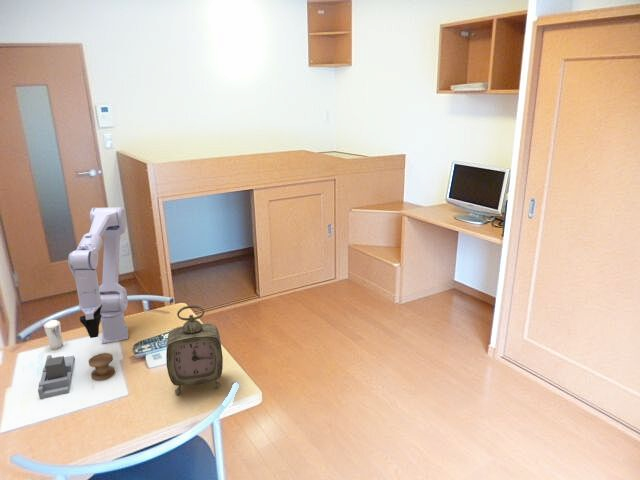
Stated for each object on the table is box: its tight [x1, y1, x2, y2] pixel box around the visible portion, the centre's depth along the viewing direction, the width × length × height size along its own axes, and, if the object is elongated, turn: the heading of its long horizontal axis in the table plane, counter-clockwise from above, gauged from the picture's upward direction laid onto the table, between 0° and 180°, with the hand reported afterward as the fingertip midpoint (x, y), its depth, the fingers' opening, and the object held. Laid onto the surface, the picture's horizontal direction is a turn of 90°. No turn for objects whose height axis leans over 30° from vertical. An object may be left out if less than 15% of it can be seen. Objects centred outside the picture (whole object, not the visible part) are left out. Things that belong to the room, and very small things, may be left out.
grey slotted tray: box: [37, 354, 76, 400], centre depth 133 cm, size 18×7×3 cm, turn 22°
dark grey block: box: [44, 355, 67, 380], centre depth 130 cm, size 4×4×6 cm
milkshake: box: [39, 319, 63, 350], centre depth 147 cm, size 5×5×10 cm
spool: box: [88, 352, 116, 381], centre depth 134 cm, size 6×6×5 cm
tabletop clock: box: [165, 304, 224, 395], centre depth 126 cm, size 14×9×25 cm, turn 105°
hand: (95, 331), depth 138 cm, fingers open, 7 cm apart
